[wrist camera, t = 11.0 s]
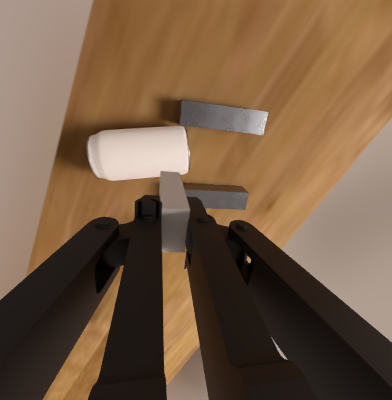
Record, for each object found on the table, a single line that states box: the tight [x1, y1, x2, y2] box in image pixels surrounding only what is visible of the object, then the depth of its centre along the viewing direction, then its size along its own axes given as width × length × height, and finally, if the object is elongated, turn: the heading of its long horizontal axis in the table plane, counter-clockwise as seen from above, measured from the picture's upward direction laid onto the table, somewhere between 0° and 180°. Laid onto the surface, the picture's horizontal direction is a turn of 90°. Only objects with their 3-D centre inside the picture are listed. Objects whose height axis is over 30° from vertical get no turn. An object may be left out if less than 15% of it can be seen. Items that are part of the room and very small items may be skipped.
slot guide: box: [178, 100, 268, 210], centre depth 31 cm, size 15×12×3 cm
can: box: [86, 126, 190, 181], centre depth 27 cm, size 6×6×12 cm
